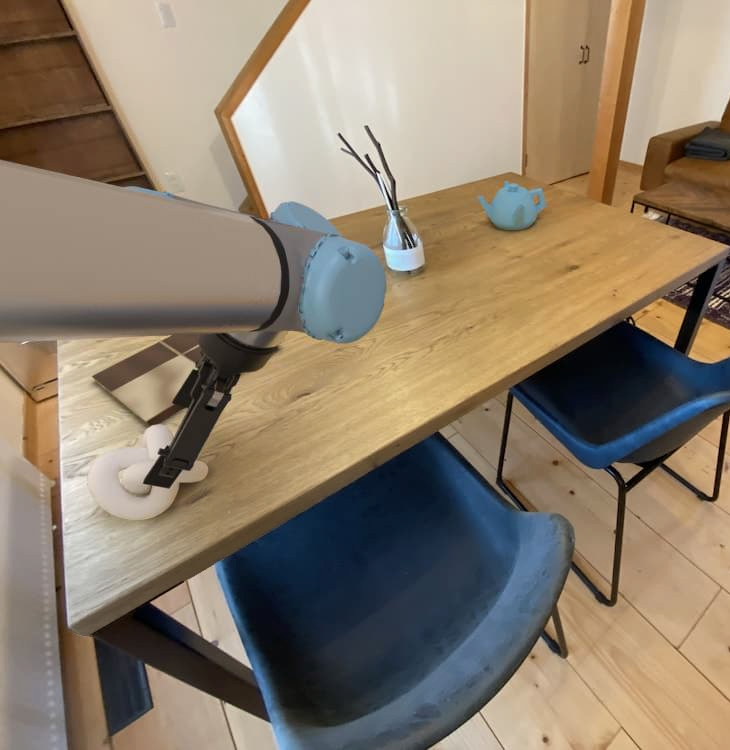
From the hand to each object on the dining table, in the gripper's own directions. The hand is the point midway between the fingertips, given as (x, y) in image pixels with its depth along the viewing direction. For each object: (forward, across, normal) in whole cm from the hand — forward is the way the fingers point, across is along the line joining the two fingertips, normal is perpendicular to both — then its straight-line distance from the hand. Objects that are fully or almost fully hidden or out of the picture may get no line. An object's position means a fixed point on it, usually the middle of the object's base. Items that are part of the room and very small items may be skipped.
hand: (171, 441), depth 57 cm
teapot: (-42, +72, -56) cm, 101 cm away
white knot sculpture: (+10, 0, -4) cm, 10 cm away
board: (+12, +29, -1) cm, 32 cm away
